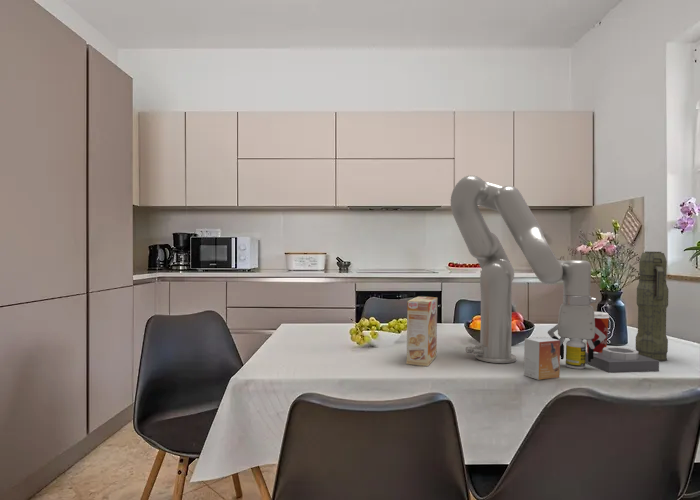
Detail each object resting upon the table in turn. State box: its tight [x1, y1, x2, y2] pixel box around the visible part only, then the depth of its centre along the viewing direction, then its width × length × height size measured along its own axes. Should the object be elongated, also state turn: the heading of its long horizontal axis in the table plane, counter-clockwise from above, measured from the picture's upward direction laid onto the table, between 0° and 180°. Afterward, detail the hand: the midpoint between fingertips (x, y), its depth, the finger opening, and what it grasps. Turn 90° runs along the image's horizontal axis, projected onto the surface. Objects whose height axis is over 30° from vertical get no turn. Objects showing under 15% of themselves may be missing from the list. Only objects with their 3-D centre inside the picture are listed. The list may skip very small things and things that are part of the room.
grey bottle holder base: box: [585, 346, 660, 373], centre depth 148 cm, size 16×12×5 cm
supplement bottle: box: [565, 338, 587, 370], centre depth 147 cm, size 5×5×10 cm
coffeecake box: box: [406, 295, 438, 367], centre depth 154 cm, size 15×7×20 cm, turn 160°
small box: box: [523, 336, 561, 381], centre depth 136 cm, size 8×6×10 cm
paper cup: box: [586, 311, 610, 353], centre depth 165 cm, size 8×8×14 cm
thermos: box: [635, 251, 669, 363], centre depth 159 cm, size 9×12×35 cm
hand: (575, 359), depth 147 cm, fingers open, 6 cm apart
